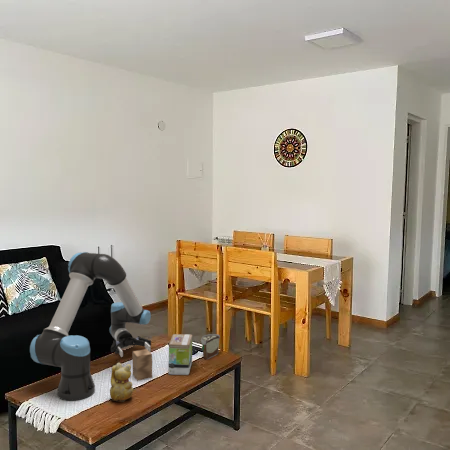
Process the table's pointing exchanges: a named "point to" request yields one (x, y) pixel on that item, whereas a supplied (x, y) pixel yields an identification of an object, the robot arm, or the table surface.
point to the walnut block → (142, 364)
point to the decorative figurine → (121, 383)
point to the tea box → (180, 354)
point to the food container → (210, 345)
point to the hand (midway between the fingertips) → (136, 351)
